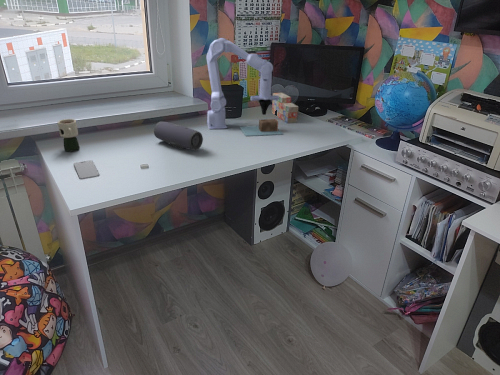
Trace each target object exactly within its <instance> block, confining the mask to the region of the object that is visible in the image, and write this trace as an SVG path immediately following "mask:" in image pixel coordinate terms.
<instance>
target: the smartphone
mask: <svg viewBox="0 0 500 375" xmlns="http://www.w3.org/2000/svg"><path fill="white" fill-rule="evenodd" d="M73 167H74V170H75V172H76V174H77V176H78V179H79V180H85V179H86V180H87V179H91V178H95V177H96V178H97V177H100V173H99V170H98V169H97V167H96V164H95V162H94V161H93V160H86V161H83V160H82V161H79V162H77V161H76V162H74V163H73Z"/></svg>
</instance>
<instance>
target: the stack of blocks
mask: <svg viewBox="0 0 500 375" xmlns="http://www.w3.org/2000/svg"><path fill="white" fill-rule="evenodd" d="M272 96H279V100H271V103H272V104H271V113H272V114H273V115H274V114H275V111H276V110H277V116H278V117H277V116H276V117H277V118H278V119H280V118H281V120H282V121H283V122H285V123H286V124H293V123H297V121H298V113H299V106H298V105H296V104H295V103H293V102H292V96H289V95H288V94H286V93H284V92H274V93H273V92H272Z"/></svg>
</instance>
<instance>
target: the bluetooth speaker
mask: <svg viewBox="0 0 500 375" xmlns="http://www.w3.org/2000/svg"><path fill="white" fill-rule="evenodd" d="M153 134H154V136H155V138H157V139H158V140H159V141H163V142H165V143H167V144H169V146H172V147H175V148H177V149H180V150H187V149H189V150H192V151H197V150H198V149H200V148H201V147H202V145H203V142H204V138H203V134H202V132H200V131H198V130H195V129H193V128H190V127H187V126H184V125H179V124H176V123H172V122H167V121H159V122H157V123H156V124H155V126H154V130H153Z"/></svg>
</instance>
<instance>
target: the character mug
mask: <svg viewBox="0 0 500 375" xmlns="http://www.w3.org/2000/svg"><path fill="white" fill-rule="evenodd" d="M57 125H58V131H59V135H60V137H61V138H63V149H64V151H65V152H74V151H76V150H80V148H81V147H80V144H79V139H78V138H77V136H79V130H78V125H77V121H76V119H73V118H65V119H60V120H58V121H57Z"/></svg>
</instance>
